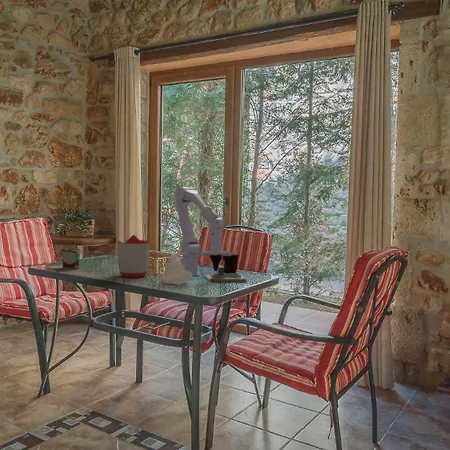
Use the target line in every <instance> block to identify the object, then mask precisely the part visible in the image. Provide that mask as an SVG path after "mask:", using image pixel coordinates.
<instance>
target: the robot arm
mask: <svg viewBox="0 0 450 450" xmlns="http://www.w3.org/2000/svg"><path fill="white" fill-rule="evenodd" d="M174 199H175V208H176V212H177V216H178V217H177V218H178V221H179V226H180V229H181V234H182V240H181V242H180V243H179V244H180V255H182V256H180V257H179V258H178V259H179V260H180V262H181V264H182V265H183V266H184V267H185V270H187V271H189V272H192V275H193V276H194V277H195V276H196V277H197V276H200V273H199V269H198V268H199V257H200V256H201V257H209V258H210V260H211V264H212V267H213V271H214V272H218V266H220V263H221V260H223V256H231V253H232V251H225V250H224V251H223V236H224V235H223V231H224V230H223V229H224V228H225V226H226V220H225V219H224V217H223V216H219V214H217V212H216V211H215V210H214V208H213V206H209V205H206V204H205V202H204V201H203V199H202V198H201V196H200V195H199V192H198V190H197V189H196V188H195V187H194V186H190V187H189V186H178V187H176V189H175V191H174ZM191 203H193V204H194V205H195V206H196V207H197V208H198V209H199V210H200V214H201V216H202V217H203V218H204V220H205V221H206V222H207V225H208V228H209V233H210V238H209V240H210V242H209V248H210V250H209V251H206V250H205V251H202V250H203V248H202V245H201V244H200V242H199V240H198V239H197V237H195V235H194V230H193V227H192V222H191V221H192V220H191V219H190V213H189V209H188V206H189V205H190V204H191Z"/></svg>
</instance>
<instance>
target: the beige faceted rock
mask: <svg viewBox="0 0 450 450" xmlns="http://www.w3.org/2000/svg"><path fill="white" fill-rule="evenodd" d="M164 266H165V272H164V274H163V275H162V276H161V277H160V281H161V282H162V283H163V284H168V285H169V284H170V285H177V286H182V285H183V284H184V283H186V282H187V281H189V280H190V279H191V278H192V277H193V275H192V272H189V271H187V270H185V267H184V266H183V265H182V264H181V262H180V260H179V258H178V254H176V253H173V252H172V253H171V254H170V256H169V257H168V259H167V261H166V263H165V264H164Z"/></svg>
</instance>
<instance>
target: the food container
mask: <svg viewBox="0 0 450 450" xmlns="http://www.w3.org/2000/svg"><path fill="white" fill-rule="evenodd" d="M60 252H61V260H62V261H61V262H62V268H64V269H69V270H78V269H80V256H81V254H82V250H81V248H77V247H66V248H65V247H64V248H63V247H62V248H61V250H60Z"/></svg>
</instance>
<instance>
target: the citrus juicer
mask: <svg viewBox="0 0 450 450" xmlns="http://www.w3.org/2000/svg"><path fill="white" fill-rule="evenodd" d="M150 242H151V241H150V240H145V239H139V237H137V235H135V234H133V235H131V236H130V237H129V238H128V239H126V242H122V241H120V240H117V247H116V251H117V266H118V267H117V268H118V270H119V272H118V273H119V274H120V276H121V277H123V276H124V277H125V278H131V279H136V278H141V277H145V276H146V275H147V272H148V268H149V266H150V265H149V263H150Z"/></svg>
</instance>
